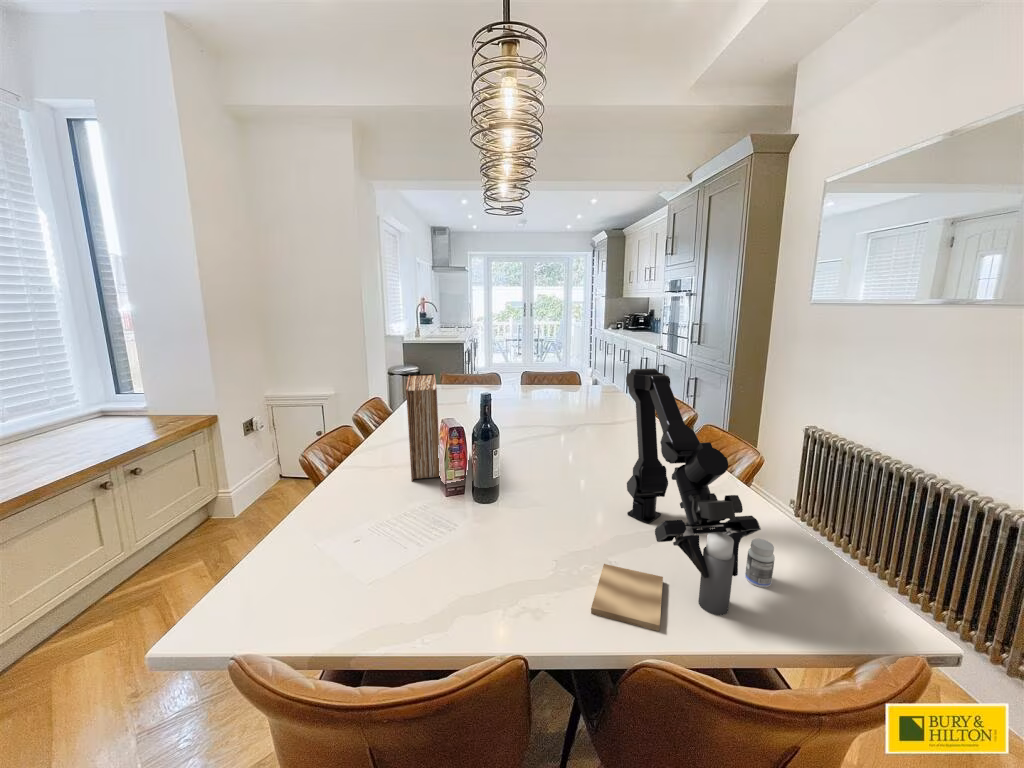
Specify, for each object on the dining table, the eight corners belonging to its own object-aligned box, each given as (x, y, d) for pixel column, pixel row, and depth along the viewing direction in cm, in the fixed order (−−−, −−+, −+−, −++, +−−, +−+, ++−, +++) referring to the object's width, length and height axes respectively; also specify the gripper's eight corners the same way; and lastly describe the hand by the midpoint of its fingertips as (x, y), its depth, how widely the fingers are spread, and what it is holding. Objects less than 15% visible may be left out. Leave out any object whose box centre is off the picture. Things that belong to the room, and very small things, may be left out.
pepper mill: (705, 591, 84) (712, 527, 81) (733, 605, 80) (741, 539, 78) (693, 604, 81) (699, 537, 78) (721, 619, 77) (729, 550, 74)
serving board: (603, 568, 91) (603, 563, 91) (662, 581, 87) (662, 576, 87) (590, 613, 79) (591, 607, 78) (659, 631, 74) (659, 625, 74)
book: (440, 479, 136) (436, 387, 130) (411, 481, 135) (405, 389, 128) (438, 451, 161) (434, 373, 154) (413, 453, 159) (408, 374, 153)
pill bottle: (747, 570, 91) (751, 534, 89) (773, 579, 88) (778, 542, 86) (742, 581, 87) (747, 544, 85) (768, 591, 84) (774, 553, 83)
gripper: (665, 481, 79) (690, 572, 70) (760, 477, 80) (796, 565, 72) (645, 500, 88) (666, 583, 79) (730, 496, 90) (759, 576, 81)
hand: (721, 576), depth 78 cm, fingers closed on pepper mill, 5 cm apart
